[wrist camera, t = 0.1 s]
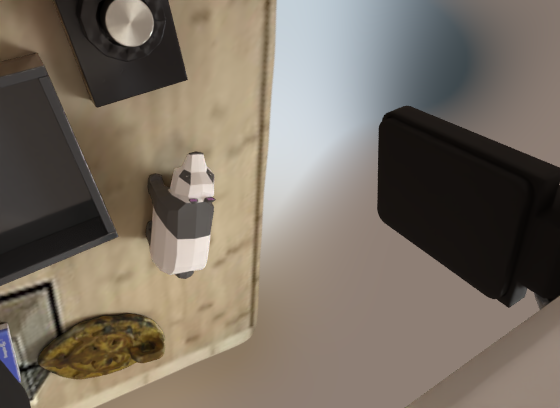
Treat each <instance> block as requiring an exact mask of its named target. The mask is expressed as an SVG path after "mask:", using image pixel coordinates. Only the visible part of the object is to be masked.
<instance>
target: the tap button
mask: <svg viewBox="0 0 560 408" xmlns="http://www.w3.org/2000/svg"><path fill="white" fill-rule="evenodd" d="M100 21H101V24H102V27H103V29H104V30H105V32H106V33H107V34H108V35H109V36H110V37H111V38H112V39H114V40H115V41H116V42H118V43H119V44H121V45H124V46H127V47H136V46H139V45H142V44H143V43H145V42H146V41H147V40H148V39H149V38H150V36H151V34H152V32H153V27H154V20H153V16H152V13H151V11H150V9H149V8H148V6H147V5H146V4H145V3H144V2H143V1H141V0H105V2H104V3H103V5H102V7H101V10H100Z"/></svg>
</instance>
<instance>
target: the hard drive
mask: <svg viewBox="0 0 560 408" xmlns="http://www.w3.org/2000/svg"><path fill="white" fill-rule="evenodd" d="M0 360H1V361H2V362H3V363H4V364H5V366H6V367H7V368H8V369H9V371H10V372H11V373H12V374H13V375H14V377H15V378H16V379H17V380H18V382H21V377H20V371H19V367H18V363H17V359H16V355H15V351H14V347H13V343H12V339H11V335H10V331H9V327H8V324H7V323H4V324H1V325H0Z"/></svg>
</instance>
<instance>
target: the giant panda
mask: <svg viewBox="0 0 560 408" xmlns="http://www.w3.org/2000/svg"><path fill="white" fill-rule="evenodd" d="M148 190H149V194H150V196H151V199H152V203H153V218H152V221H149V222H148V224H147V228H146V237H147V240H148V242H149V245H150V254H151V258H152V261H153V262H154V263H155V265H156V266H157V267H158V268H159V269H160V270H161V271H163V272H165V273H167V274H169V275H173V274H175V275H176V276H177V277H178V278H183V279H186V278H188V277H190V276H192V274H193V273H194V271H196V270H202V269H203V268H204V267H205V265H206V263H207V258H208V252H209V243H210V234H211V226H212V219H213V212H214V206H213V204H212V203H211V202H214V201H215V200H216V199H215V198H213V197H212V196H213V195H214V174H213V173H212V171H211V170H210V169H209V167H207V166H206V162H205V159H204V155H203V153H201V152H192V153H189V154H187V156H186V159H185V161H184V163H183V165H182V166H181V167H177V168H174V172H173V177H172V182H171V186H170V187H167V186H165V185H164V183H163V179H162V176H161V175H159V174H153V175H150V176H149V179H148Z"/></svg>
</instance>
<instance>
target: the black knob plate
mask: <svg viewBox="0 0 560 408" xmlns="http://www.w3.org/2000/svg"><path fill="white" fill-rule="evenodd" d="M141 1H143V2H144V3H145V4H146V5H147V6H148V8H149V9H150V11H151V13H152V16H153V20H154V27H153V32H152V34H151V36H150V38H149V39H148V40H147V41H146V42H145V43H143V44H142V45H139V46H136V47H127V46H124V45H121V44H119V43H118V42H116V41H115V40H114V39H112V38H111V37H110V36H109V35H108V34H107V33H106V32H105V30H104V29H103V27H102V24H101V21H100V10H101V7H102V5H103V3H104V2H105V0H53V3H54V5H55V8H56V10H57V13H58V16H59V18H60V21H61V23H62V26H63V28H64V31H65V34H66V36H67V39H68V41H69V44H70V46H71V49H72V51H73V54H74V57H75V59H76V62H77V64H78V67H79V69H80V72H81V75H82V77H83V80H84V82H85V85H86V87H87V90H88V93H89V95H90V98H91V100H92V102H93V103H94V105H95V106H96V107H101V106H104V105H107V104H110V103H114V102H117V101H120V100H123V99H127V98H130V97H133V96H137V95H140V94H143V93H146V92H150V91H153V90H156V89H160V88H163V87H166V86H169V85H173V84H176V83H179V82H182V81H186V80H188V79H187V75H186V71H185V67H184V63H183V59H182V54H181V50H180V46H179V42H178V38H177V34H176V30H175V26H174V22H173V18H172V14H171V10H170V6H169V2H168V0H141Z"/></svg>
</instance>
